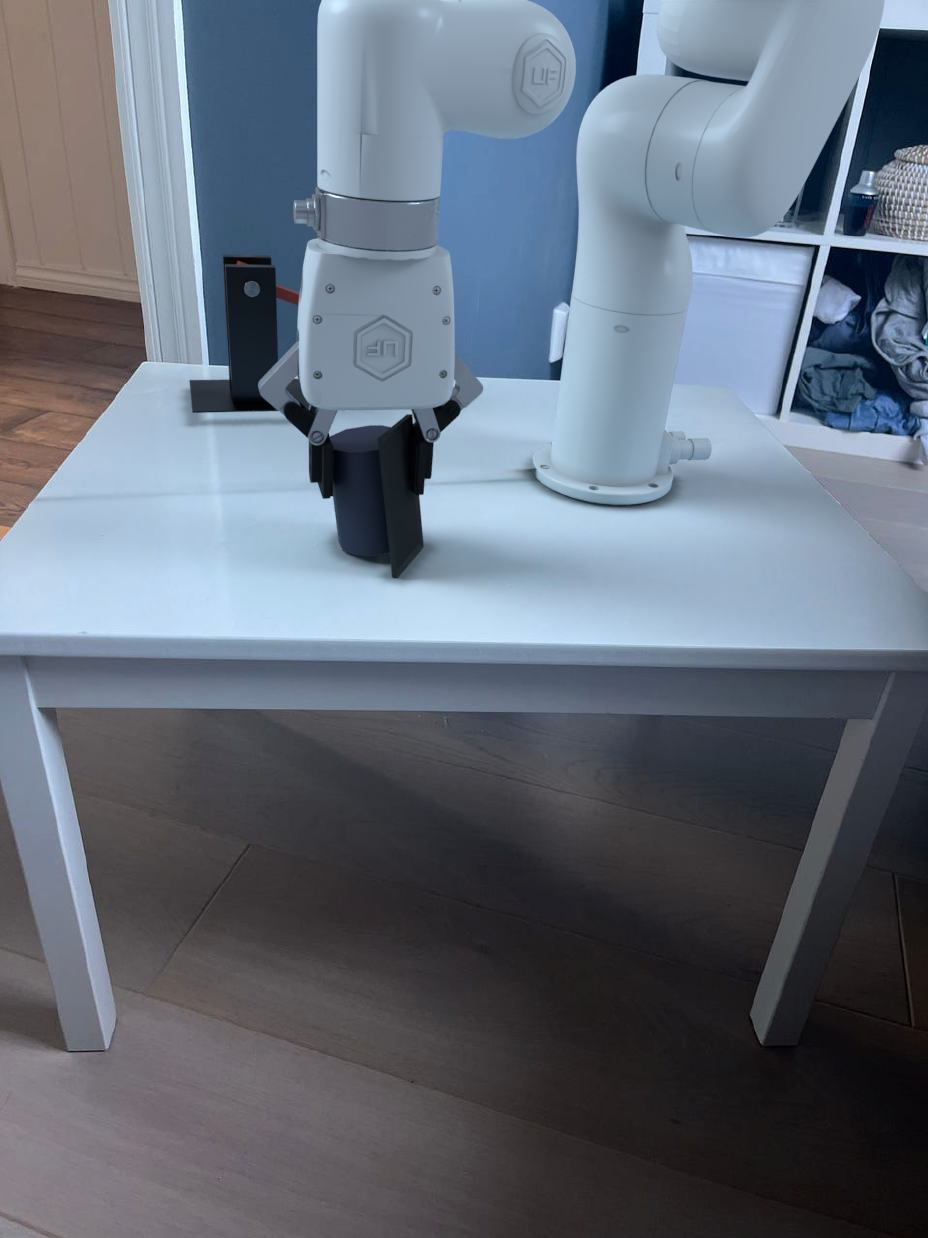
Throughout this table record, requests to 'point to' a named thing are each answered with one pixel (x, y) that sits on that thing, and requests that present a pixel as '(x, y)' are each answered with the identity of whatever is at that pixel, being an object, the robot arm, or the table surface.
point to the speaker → (377, 493)
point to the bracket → (246, 339)
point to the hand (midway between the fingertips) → (370, 486)
